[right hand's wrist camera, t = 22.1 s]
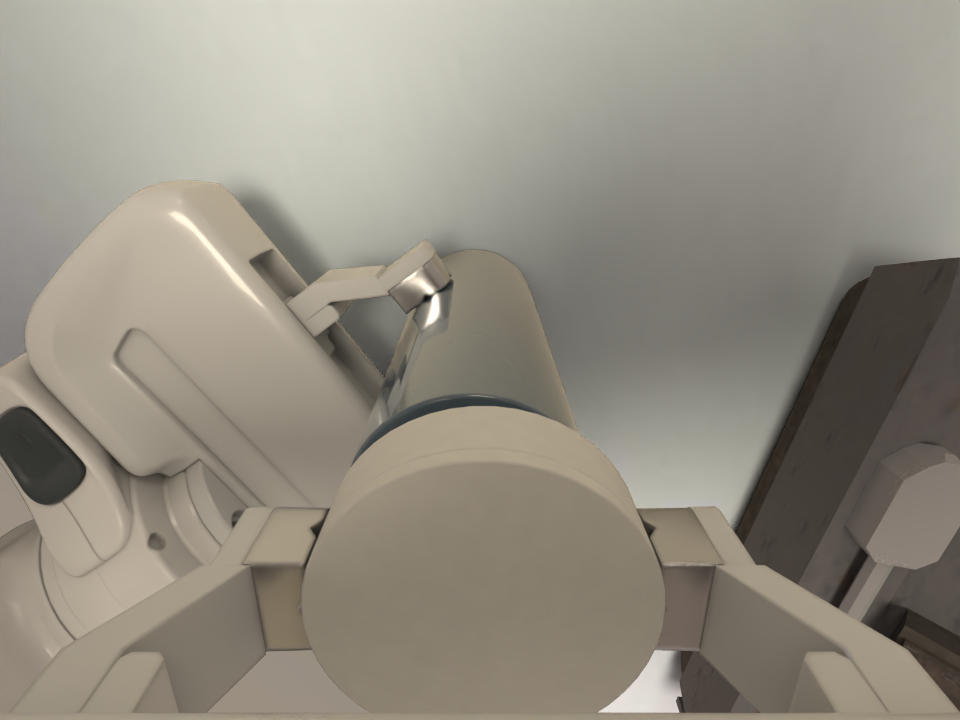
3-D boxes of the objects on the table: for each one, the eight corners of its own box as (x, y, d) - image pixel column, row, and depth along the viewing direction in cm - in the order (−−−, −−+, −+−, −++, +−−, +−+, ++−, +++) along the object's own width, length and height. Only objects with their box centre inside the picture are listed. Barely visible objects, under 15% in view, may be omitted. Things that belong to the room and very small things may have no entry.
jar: (529, 245, 24) (616, 425, 9) (533, 356, 26) (611, 661, 11) (410, 253, 24) (299, 445, 9) (422, 363, 26) (348, 675, 11)
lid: (374, 675, 12) (356, 764, 10) (289, 436, 10) (249, 497, 8) (650, 635, 11) (679, 720, 10) (619, 377, 9) (649, 428, 8)
